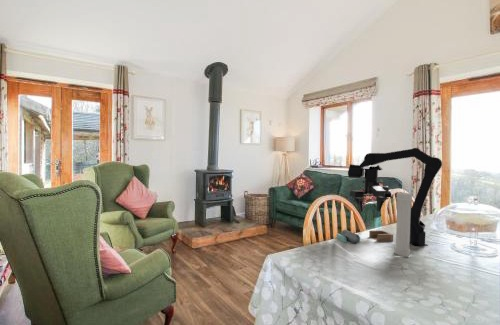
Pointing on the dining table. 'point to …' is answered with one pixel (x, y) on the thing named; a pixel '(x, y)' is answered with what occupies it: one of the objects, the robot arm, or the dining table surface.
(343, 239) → the cradle
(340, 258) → the dining table surface
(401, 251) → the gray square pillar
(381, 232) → the brown block
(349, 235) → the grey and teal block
